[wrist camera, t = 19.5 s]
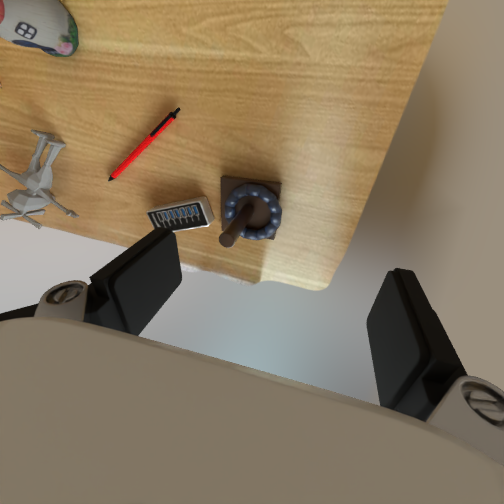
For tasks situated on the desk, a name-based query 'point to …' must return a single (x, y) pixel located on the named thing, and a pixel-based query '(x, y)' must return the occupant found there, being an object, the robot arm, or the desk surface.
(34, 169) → the figurine
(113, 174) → the pen
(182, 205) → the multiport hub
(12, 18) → the decorative ornament
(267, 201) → the ring
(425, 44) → the desk surface
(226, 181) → the stand
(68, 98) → the desk surface
